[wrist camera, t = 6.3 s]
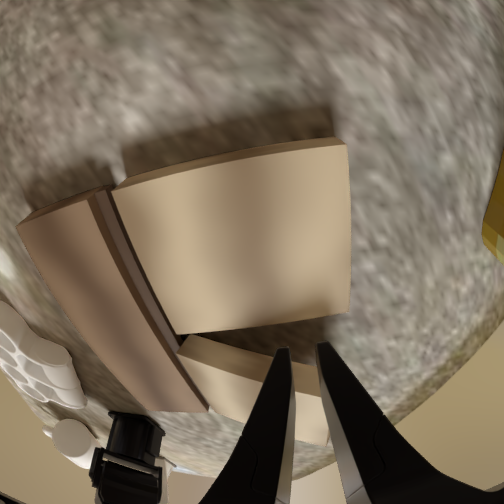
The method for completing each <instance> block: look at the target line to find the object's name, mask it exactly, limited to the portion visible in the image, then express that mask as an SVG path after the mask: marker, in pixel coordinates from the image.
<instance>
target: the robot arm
mask: <svg viewBox="0 0 504 504" xmlns="http://www.w3.org/2000/svg"><path fill="white" fill-rule="evenodd" d="M315 347H316V363H317V370H318V377H319V385H320V393H321V400H322V404H323V408H324V412H325V416H326V420H327V424H328V428H329V432H330V436H331V440H332V444H333V448H334V452H335V456H336V460H337V464H338V468H339V472H340V476H341V481H342V485H343V489H344V494H345V498H346V502H347V504H504V482H503V483H501V484H499V485H496V486H494V487H492V488H490V489H487V490H485V491H483V490H481V489H478V488H475V487H473V486H470V485H468V484H465V483H463V482H461V481H458V480H456V479H454V478H451V477H449V476H447V475H445V474H443V473H441V472H440V471H438V470H437V469H435V468H434V467H433V466H432V465H431V464H430V463H429V462H428V461H427V460H426V459H425V458H424V457H422V455H420V453H418V452H417V451H416V450H415V449H414V448H413V447H412V446H411V445H410V444H409V443H408V442H407V441H406V440H405V439H404V437H402V435H401V434H400V433H399V432H398V431H397V430H396V428H395V427H394V426H393V425H392V423H391V422H390V421H389V420H388V418H387V417H386V416H385V415H383V412H382V411H381V409H380V408H379V407H378V405H377V404H376V403H375V401H374V400H373V399H372V397H371V396H370V395H369V394H368V392H367V391H366V390H365V388H364V387H363V386H362V384H361V383H360V382H359V380H358V379H357V378H356V377H355V375H354V374H353V373H352V371H351V370H350V369H349V367H348V366H347V365H346V364H345V362H344V361H343V360H342V358H341V357H340V356H339V354H338V353H337V352H336V351H335V349H334V348H333V347H332V345H331V344H330V343H329V342H328V341H320V342H316V344H315ZM108 415H109V416H110V417H111V418H112V419H113V424H112V427H111V431H110V435H109V439H108V443H107V447H106V449H105V448H103V447H101V448H98V447H95V450H94V453H93V457H92V462H91V466H90V470H89V476H90V478H91V479H92V480H91V481H92V487H94V488H97V489H96V496H95V504H159V503H160V501H161V496H162V470H163V468H162V467H160V466H158V467H157V466H154V465H155V459H156V457H158V456H159V453H160V447H161V441H162V436H165V434H166V433H165V432H163V431H162V430H161V429H160V428H159V427H158V426H156V425H155V424H154V423H153V422H152V421H151V420H150V419H149V418H147V417H145V416H139V415H130V414H122V413H115V412H108ZM295 421H296V397H295V387H294V377H293V368H292V360H291V353H290V348H289V347H279V348H277V349H276V352H275V354H274V357H273V359H272V362H271V364H270V367H269V370H268V372H267V375H266V377H265V379H264V382H263V384H262V387H261V389H260V392H259V394H258V396H257V399H256V401H255V404H254V406H253V408H252V411H251V413H250V415H249V418H248V420H247V422H246V425H245V427H244V429H243V431H242V436H240V438H239V440H238V442H237V444H236V446H235V448H234V450H233V452H232V454H231V456H230V458H229V460H228V462H227V463H226V465H225V466H224V468H223V470H222V471H221V473H220V474H219V476H218V477H217V479H216V480H215V482H214V483H213V484H212V486H211V488H210V489H209V490H208V492H207V493H206V494H205V496H204V497H203V498H202V500H201V501H200V502H199V503H198V504H289V503H290V493H291V482H292V469H293V455H294V440H295ZM103 458H106V459H108V461H104V460H102V459H103ZM109 460H111V461H109ZM112 461H114V462H112ZM115 462H117V463H119V464H117V463H115ZM120 464H122V465H120ZM123 465H125V466H123ZM126 466H128V467H126ZM129 467H131V468H129ZM132 468H135V469H132ZM136 469H138V470H136ZM139 470H141V471H139ZM142 471H144V472H142ZM146 472H148V473H146ZM149 473H150V474H149ZM0 504H26V503H23V502H21V501H19V500H17V499H15V498H12V497H10V496H8V495H6V494H4V493H2V492H0Z"/></svg>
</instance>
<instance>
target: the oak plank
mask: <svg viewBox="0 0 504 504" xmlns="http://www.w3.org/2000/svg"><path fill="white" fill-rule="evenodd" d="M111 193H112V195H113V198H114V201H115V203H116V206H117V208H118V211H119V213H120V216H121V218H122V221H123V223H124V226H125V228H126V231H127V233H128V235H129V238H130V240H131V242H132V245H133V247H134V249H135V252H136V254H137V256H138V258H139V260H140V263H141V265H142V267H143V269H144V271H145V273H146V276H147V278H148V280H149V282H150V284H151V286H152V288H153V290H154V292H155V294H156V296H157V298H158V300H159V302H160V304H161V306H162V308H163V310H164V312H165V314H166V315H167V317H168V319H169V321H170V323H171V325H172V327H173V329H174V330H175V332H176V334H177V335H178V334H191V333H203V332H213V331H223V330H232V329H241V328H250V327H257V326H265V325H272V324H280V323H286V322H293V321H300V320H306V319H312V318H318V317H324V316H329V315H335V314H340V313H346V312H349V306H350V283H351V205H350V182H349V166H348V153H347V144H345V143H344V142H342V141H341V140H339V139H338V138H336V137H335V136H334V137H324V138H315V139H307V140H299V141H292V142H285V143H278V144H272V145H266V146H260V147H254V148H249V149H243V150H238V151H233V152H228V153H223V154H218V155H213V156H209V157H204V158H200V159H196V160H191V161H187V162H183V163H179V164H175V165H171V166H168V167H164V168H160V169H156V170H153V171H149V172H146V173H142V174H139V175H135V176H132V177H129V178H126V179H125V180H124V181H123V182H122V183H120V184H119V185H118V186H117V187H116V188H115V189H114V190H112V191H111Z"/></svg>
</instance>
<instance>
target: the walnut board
mask: <svg viewBox="0 0 504 504" xmlns="http://www.w3.org/2000/svg"><path fill="white" fill-rule="evenodd" d="M112 190H114V189H113V186H112V184H111V185H108V186H105V187H104V186H101V187H98V188H95V189H92V190H89V191H86V192H83V193H80V194H78V195H75V196H72V197H70V198H67V199H64V200H62V201H59V202H57V203H54V204H52V205H49V206H47V207H44V208H42V209H39V210H37V211H35V212H32V213H31V214H30V215H29V216H27V217H26V218H25V219H24V220H23V221H21V222H20V223H19V224H18V225H17V226H16V229H17V231H18V233H19V235H20V237H21V239H22V241H23V243H24V245H25V247H26V249H27V251H28V253H29V255H30V257H31V259H32V260H33V262H34V264H35V266H36V268H37V269H38V271H39V273H40V275H41V276H42V278H43V280H44V281H45V283H46V285H47V286H48V288H49V289H50V291H51V293H52V294H53V296H54V297H55V299H56V300H57V302H58V303H59V305H60V306H61V308H62V309H63V311H64V312H65V314H66V315H67V317H68V318H69V320H70V321H71V322H72V324H73V325H74V326H75V328H76V329H77V331H78V332H79V333H80V335H81V336H82V337H83V339H84V340H85V341H86V342H87V344H88V345H89V346H90V347H91V349H92V350H93V351H94V352H95V354H96V355H97V356H98V357H99V359H100V360H101V361H102V362H103V363H104V364H105V366H106V367H107V368H108V369H109V370H110V371H111V373H112V374H113V375H114V376H115V377H116V378H117V379H118V380H119V381H120V383H121V384H122V385H123V386H124V387H125V388H126V389H127V390H128V391H129V392H130V393H131V394H132V395H133V396H134V397H135V398H136V399H137V400H138V401H139V402H140V403H141V404H142V405H143V406H144V407H145V408H146V409H147V410H151V411H166V412H208V410H209V406H210V404H209V403H208V401H207V400H206V399H205V397H204V396H203V394H202V393H201V391H200V390H199V388H198V387H197V385H196V384H195V383H194V381H193V380H192V378H191V377H190V375H189V373H188V372H187V370H186V369H185V367H184V366H183V364H182V363H181V361H180V359H179V358H178V356H177V355H176V352H177V351H178V349H179V348H180V347H181V345H182V344H183V343H184V342H183V340H182V338H181V337H180V335H179V334H178V335H177V334H176V332H175V330H174V329H173V327H172V325H171V323H170V321H169V319H168V317H167V315H166V314H165V312H164V310H163V308H162V306H161V304H160V302H159V300H158V298H157V296H156V294H155V292H154V290H153V288H152V286H151V284H150V282H149V280H148V278H147V276H146V273H145V271H144V269H143V267H142V265H141V263H140V260H139V258H138V256H137V254H136V252H135V249H134V247H133V245H132V242H131V240H130V238H129V235H128V233H127V231H126V228H125V226H124V223H123V221H122V218H121V216H120V213H119V211H118V208H117V206H116V203H115V201H114V198H113V195H112V193H111V191H112Z"/></svg>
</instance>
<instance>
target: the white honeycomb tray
mask: <svg viewBox="0 0 504 504" xmlns="http://www.w3.org/2000/svg"><path fill="white" fill-rule="evenodd" d="M0 366H1V367H2V368H3V370H4V371H5V372H7V373H8V374H9V375H10V376H11V377H12V378H13V380H14V381H15V382H16V384H17V386H18V387H19V388H21V389H22V390H23V391H24V392H25V393H27V394H28V395H30V396H31V397H33V398H35V399H37V400H39V401H41V402H48V401H49V400H50V401H54V402H56V403H58V404H60V405H62V406H65V407H69V408H73V409H82V408H85V407H86V406H87V401H88V400H87V398H86V397H85V395H84V393H83V390H82V388H81V385H80V383H81V382H80V380H79V379H78V378H77V375H76V372H75V369H74V367H73V364H72V357H71V356H70V355H69V353H68V351H67V350H66V349H65V348H64V347H63V346H61V345H58V344H56V343H54V342H52V341H49V340H46V339H43V338H41V337H39V336H38V335H37V334H35V333H34V332H33V331H32V330H31V329H30V328H29V326H28V325H27V323H26V322H25V321H24V319H23V318H22V317H21V316H20V315H19V314H18V313H17V312H16V311H15V310H14V309H13V308H12V307H11V306H10V305H8V304H7V303H5V302H3V301H1V300H0Z"/></svg>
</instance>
